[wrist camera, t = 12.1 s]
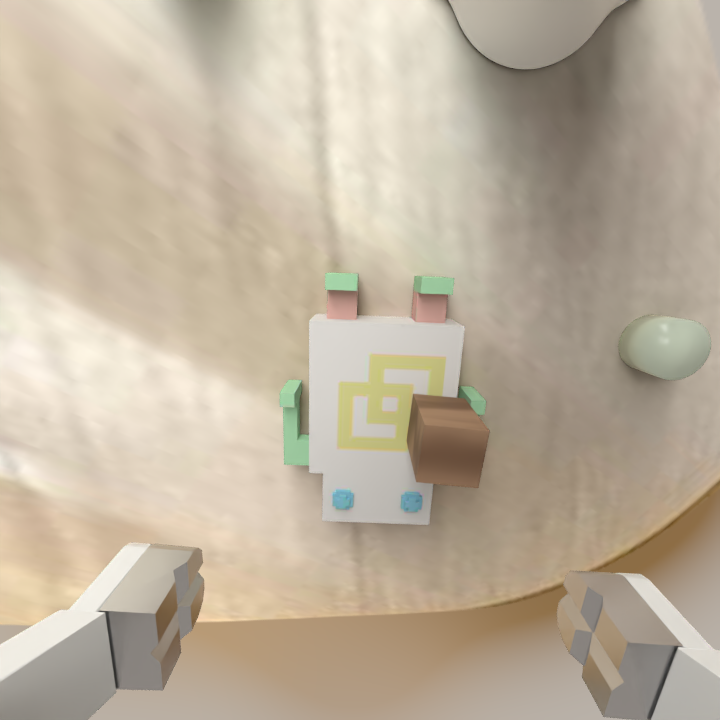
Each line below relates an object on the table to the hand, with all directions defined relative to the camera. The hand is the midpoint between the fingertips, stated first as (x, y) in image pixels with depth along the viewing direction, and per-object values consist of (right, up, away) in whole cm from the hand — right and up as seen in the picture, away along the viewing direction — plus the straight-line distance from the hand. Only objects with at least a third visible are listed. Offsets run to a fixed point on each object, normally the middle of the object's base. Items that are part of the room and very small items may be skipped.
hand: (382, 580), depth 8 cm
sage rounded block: (+30, +7, +30) cm, 43 cm away
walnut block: (+7, -1, +27) cm, 27 cm away
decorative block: (+2, +1, +32) cm, 33 cm away
